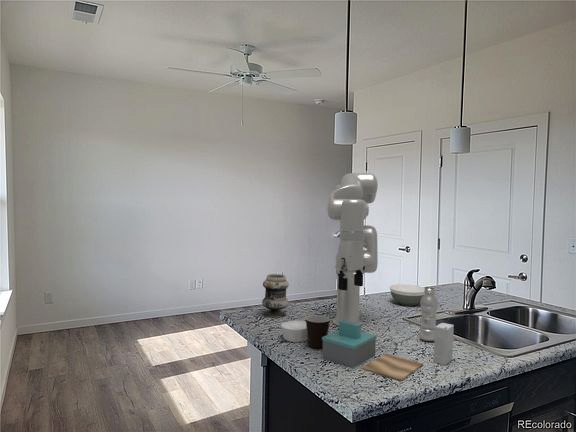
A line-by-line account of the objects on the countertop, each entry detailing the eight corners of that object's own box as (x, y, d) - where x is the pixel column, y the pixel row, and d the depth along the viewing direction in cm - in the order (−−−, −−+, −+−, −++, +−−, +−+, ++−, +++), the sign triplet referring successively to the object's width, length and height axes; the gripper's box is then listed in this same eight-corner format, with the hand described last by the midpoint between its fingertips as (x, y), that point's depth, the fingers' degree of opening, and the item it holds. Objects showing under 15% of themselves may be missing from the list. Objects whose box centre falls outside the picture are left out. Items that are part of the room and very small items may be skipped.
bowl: (432, 308, 204) (432, 292, 204) (393, 308, 204) (394, 291, 204) (420, 299, 223) (420, 284, 222) (385, 299, 223) (385, 283, 223)
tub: (345, 346, 149) (345, 330, 148) (375, 355, 141) (375, 338, 141) (322, 357, 138) (322, 340, 138) (353, 367, 130) (353, 349, 130)
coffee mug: (322, 352, 143) (322, 323, 143) (300, 347, 147) (301, 319, 147) (336, 342, 153) (337, 316, 152) (316, 338, 157) (316, 312, 157)
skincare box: (439, 357, 141) (440, 321, 140) (453, 360, 138) (454, 324, 137) (432, 362, 136) (433, 325, 136) (446, 366, 133) (447, 328, 133)
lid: (345, 332, 149) (345, 315, 149) (376, 340, 141) (377, 322, 140) (321, 342, 138) (322, 323, 138) (354, 351, 130) (354, 332, 130)
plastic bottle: (436, 338, 160) (438, 287, 159) (437, 344, 153) (438, 290, 153) (419, 336, 162) (420, 285, 161) (418, 342, 155) (420, 289, 155)
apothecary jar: (279, 320, 180) (280, 279, 180) (256, 315, 186) (257, 276, 186) (293, 313, 191) (293, 274, 190) (271, 309, 197) (271, 272, 196)
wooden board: (386, 355, 142) (386, 353, 142) (423, 365, 133) (423, 363, 133) (362, 369, 129) (362, 367, 129) (400, 381, 121) (401, 379, 121)
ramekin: (276, 340, 154) (276, 326, 154) (287, 332, 165) (287, 319, 164) (304, 345, 150) (305, 330, 150) (314, 336, 160) (314, 322, 160)
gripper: (356, 234, 147) (354, 282, 147) (327, 237, 134) (326, 289, 134) (374, 236, 142) (373, 285, 142) (347, 238, 129) (346, 293, 129)
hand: (350, 287), depth 138 cm, fingers open, 9 cm apart
